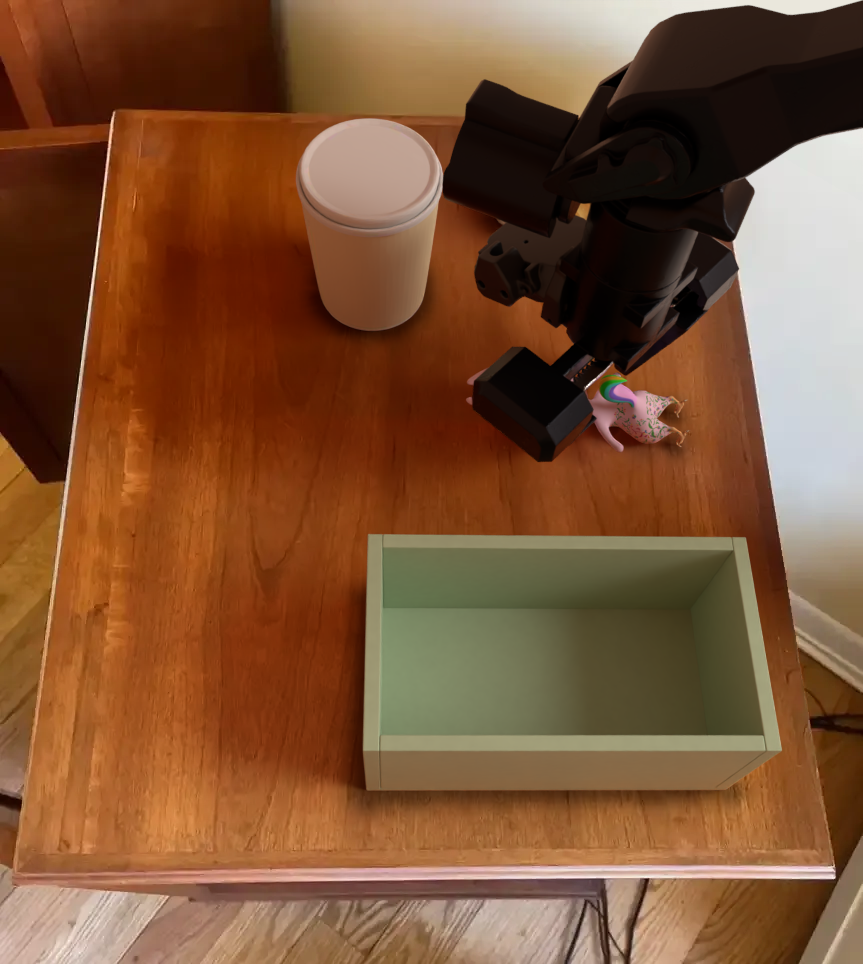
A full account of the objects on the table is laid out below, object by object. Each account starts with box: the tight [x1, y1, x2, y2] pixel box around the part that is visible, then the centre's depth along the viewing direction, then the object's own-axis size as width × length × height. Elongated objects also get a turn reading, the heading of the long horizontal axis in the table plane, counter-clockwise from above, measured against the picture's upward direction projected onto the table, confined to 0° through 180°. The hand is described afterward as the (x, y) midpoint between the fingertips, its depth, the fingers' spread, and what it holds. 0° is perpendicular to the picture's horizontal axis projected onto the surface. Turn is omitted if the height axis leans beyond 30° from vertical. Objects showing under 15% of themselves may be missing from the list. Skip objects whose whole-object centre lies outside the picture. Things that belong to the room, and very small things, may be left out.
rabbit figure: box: [465, 367, 691, 453], centre depth 67 cm, size 6×6×15 cm
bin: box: [362, 533, 783, 791], centre depth 56 cm, size 21×12×10 cm, turn 90°
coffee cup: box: [295, 118, 444, 332], centre depth 69 cm, size 9×9×12 cm
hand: (586, 404), depth 68 cm, fingers closed on rabbit figure, 7 cm apart
